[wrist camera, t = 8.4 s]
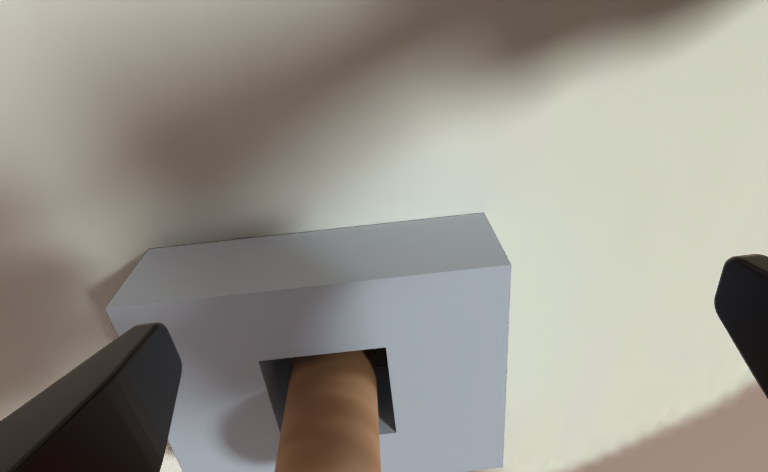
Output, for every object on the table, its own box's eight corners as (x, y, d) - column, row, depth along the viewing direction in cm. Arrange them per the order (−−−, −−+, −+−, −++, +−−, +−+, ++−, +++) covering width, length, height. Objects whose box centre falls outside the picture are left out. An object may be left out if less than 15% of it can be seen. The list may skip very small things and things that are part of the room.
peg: (369, 297, 22) (376, 453, 15) (377, 356, 24) (386, 521, 17) (290, 306, 22) (260, 466, 15) (304, 364, 24) (283, 531, 17)
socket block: (483, 212, 20) (511, 264, 16) (482, 398, 25) (502, 467, 22) (148, 249, 20) (104, 308, 16) (218, 426, 25) (196, 500, 22)
